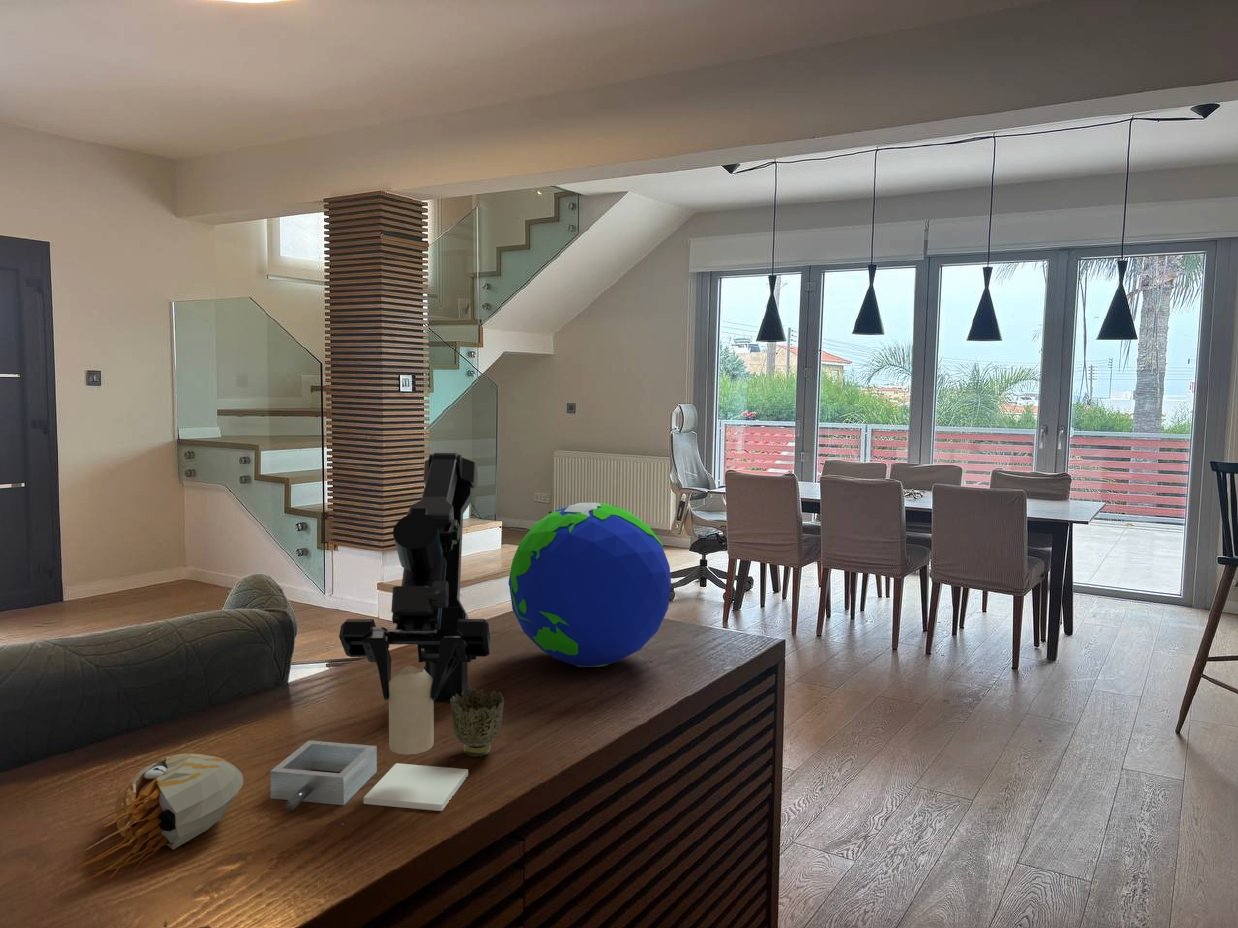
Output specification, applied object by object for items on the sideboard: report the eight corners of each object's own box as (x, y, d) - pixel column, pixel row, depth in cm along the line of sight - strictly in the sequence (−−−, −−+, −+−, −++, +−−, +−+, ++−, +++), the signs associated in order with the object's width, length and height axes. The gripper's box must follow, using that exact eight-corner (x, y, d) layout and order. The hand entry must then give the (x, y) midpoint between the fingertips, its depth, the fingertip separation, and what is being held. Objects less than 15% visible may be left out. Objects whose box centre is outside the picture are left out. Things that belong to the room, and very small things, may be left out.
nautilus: (130, 909, 89) (20, 886, 94) (278, 801, 109) (181, 786, 114) (119, 834, 87) (9, 815, 92) (271, 739, 108) (173, 727, 112)
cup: (513, 746, 127) (513, 692, 127) (489, 767, 121) (489, 710, 120) (466, 739, 130) (466, 685, 129) (440, 759, 123) (440, 702, 122)
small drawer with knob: (376, 771, 119) (376, 745, 119) (328, 820, 105) (327, 792, 105) (309, 765, 120) (308, 740, 120) (252, 813, 107) (252, 785, 107)
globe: (704, 668, 164) (708, 505, 161) (574, 704, 144) (576, 520, 142) (601, 631, 186) (603, 488, 183) (477, 658, 167) (477, 499, 164)
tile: (468, 775, 118) (468, 769, 118) (441, 810, 108) (441, 804, 108) (396, 768, 120) (396, 763, 120) (363, 803, 110) (363, 797, 110)
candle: (385, 740, 115) (384, 665, 114) (428, 734, 117) (428, 660, 116) (393, 758, 110) (392, 679, 109) (438, 750, 112) (437, 673, 111)
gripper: (341, 557, 114) (320, 670, 105) (488, 558, 116) (481, 669, 106) (356, 602, 123) (337, 710, 113) (493, 602, 124) (486, 708, 115)
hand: (409, 699), depth 112 cm, fingers closed on candle, 5 cm apart
